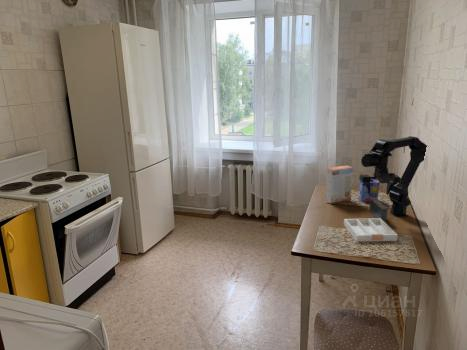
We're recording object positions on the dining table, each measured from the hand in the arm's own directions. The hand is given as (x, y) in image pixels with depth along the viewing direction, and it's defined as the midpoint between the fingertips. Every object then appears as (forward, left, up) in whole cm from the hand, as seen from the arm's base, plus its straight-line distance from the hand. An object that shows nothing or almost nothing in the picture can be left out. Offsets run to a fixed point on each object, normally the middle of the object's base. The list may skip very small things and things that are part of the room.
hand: (378, 194), depth 174 cm
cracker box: (+12, -27, -14) cm, 32 cm away
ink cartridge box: (-6, -27, -14) cm, 31 cm away
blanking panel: (-1, -1, -13) cm, 14 cm away
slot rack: (+10, +16, -13) cm, 23 cm away
